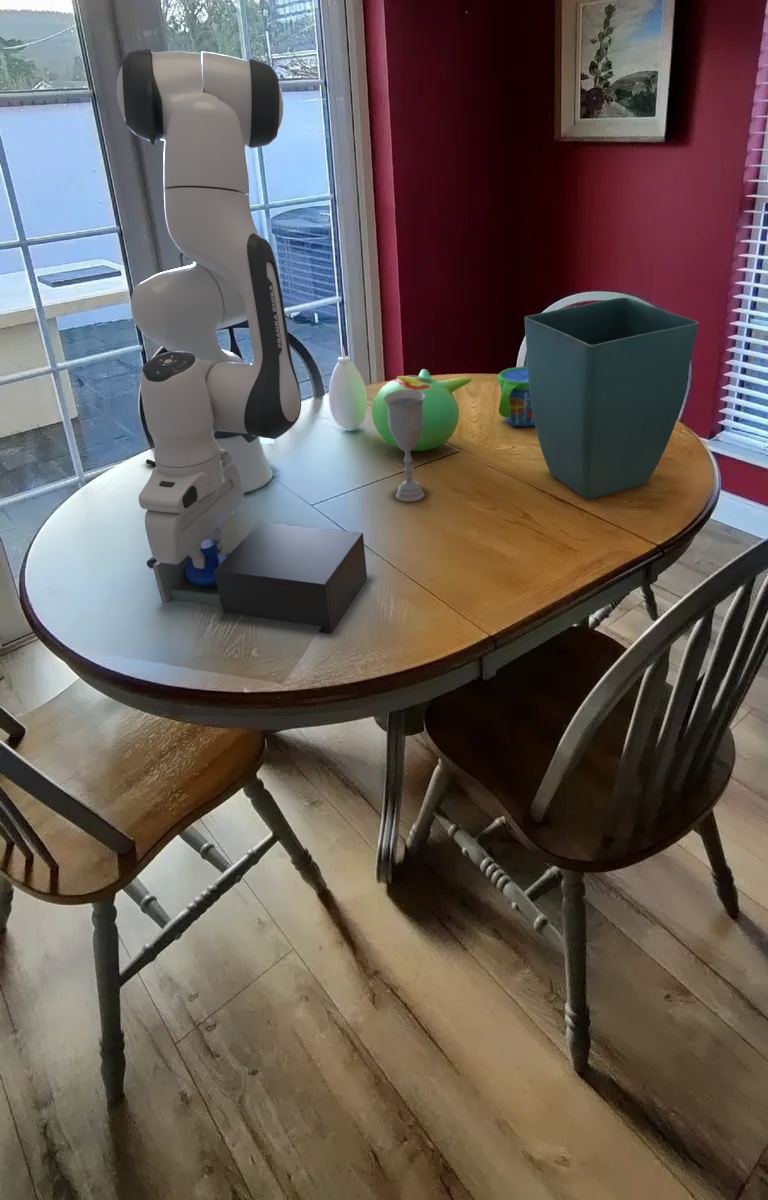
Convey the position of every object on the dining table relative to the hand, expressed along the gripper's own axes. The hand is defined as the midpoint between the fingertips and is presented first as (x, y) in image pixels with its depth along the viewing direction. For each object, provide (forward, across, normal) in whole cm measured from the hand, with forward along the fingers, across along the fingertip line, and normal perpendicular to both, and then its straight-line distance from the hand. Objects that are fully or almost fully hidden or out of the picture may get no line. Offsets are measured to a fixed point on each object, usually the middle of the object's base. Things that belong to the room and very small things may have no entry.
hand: (208, 559), depth 123 cm
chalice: (+5, -36, +19) cm, 41 cm away
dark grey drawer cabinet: (+5, 0, +14) cm, 15 cm away
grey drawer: (+4, 0, +2) cm, 5 cm away
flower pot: (+5, -49, +50) cm, 70 cm away
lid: (+2, 0, 0) cm, 2 cm away
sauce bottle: (+6, -64, -3) cm, 64 cm away
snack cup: (+5, -75, +31) cm, 81 cm away
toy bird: (+5, -58, +14) cm, 60 cm away
